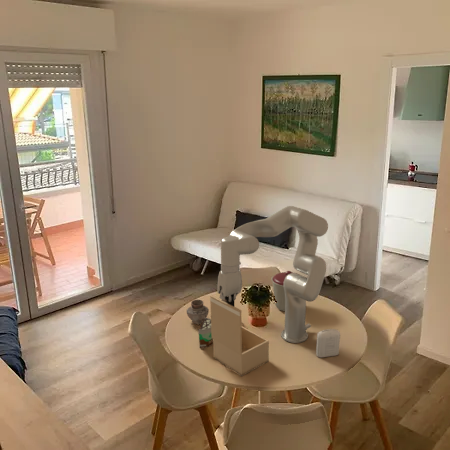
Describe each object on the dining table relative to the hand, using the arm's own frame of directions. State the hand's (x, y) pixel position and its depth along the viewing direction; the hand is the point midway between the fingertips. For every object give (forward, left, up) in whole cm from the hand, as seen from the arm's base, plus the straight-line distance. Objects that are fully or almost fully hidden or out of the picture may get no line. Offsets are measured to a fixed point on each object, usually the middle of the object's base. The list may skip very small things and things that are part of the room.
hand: (230, 308), depth 193 cm
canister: (-58, -19, -27) cm, 67 cm away
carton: (-6, 0, -27) cm, 27 cm away
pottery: (-18, -35, -27) cm, 48 cm away
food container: (-4, -20, -27) cm, 34 cm away
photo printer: (-37, +23, -27) cm, 51 cm away
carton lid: (+2, 0, -6) cm, 7 cm away
